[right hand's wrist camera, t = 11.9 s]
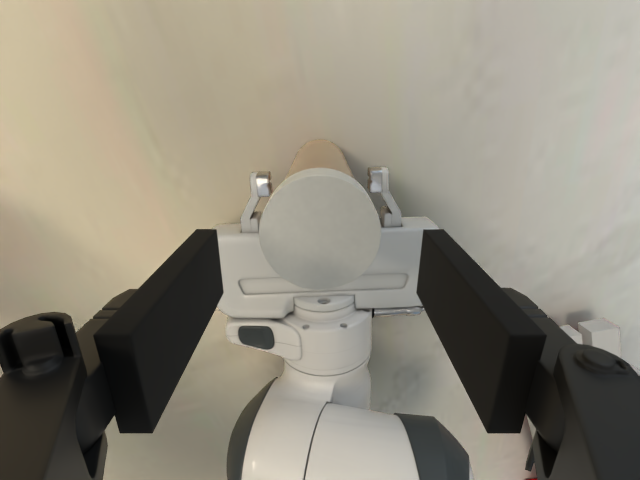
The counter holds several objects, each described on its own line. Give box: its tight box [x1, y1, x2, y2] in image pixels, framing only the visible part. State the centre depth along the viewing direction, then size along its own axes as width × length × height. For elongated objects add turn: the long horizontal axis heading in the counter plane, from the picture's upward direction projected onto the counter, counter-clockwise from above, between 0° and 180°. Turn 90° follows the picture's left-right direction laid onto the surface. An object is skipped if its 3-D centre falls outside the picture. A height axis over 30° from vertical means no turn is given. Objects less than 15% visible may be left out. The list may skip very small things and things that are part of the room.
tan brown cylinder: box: [286, 139, 354, 179], centre depth 26 cm, size 5×5×19 cm
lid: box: [259, 168, 381, 290], centre depth 17 cm, size 6×6×2 cm
